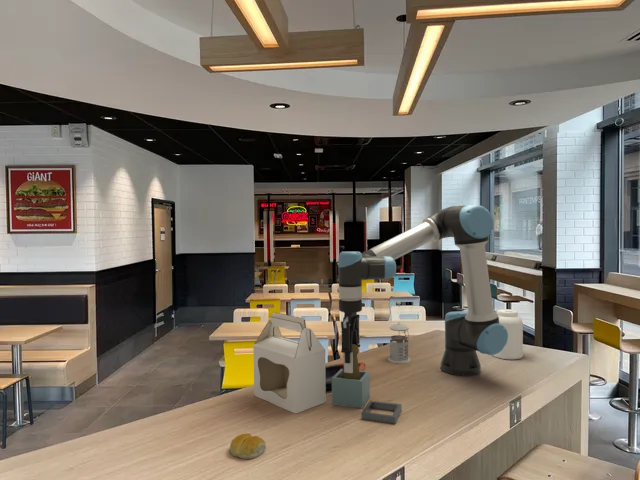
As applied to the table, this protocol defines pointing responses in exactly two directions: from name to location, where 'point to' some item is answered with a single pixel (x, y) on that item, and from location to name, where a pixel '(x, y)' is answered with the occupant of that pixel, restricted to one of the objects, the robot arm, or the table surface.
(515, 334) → the white jar
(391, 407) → the socket collar
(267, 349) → the gable box
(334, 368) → the dish
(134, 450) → the table surface
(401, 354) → the french press
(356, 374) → the olive brown hourglass shape
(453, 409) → the table surface
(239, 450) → the bread roll
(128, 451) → the table surface
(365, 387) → the open box
